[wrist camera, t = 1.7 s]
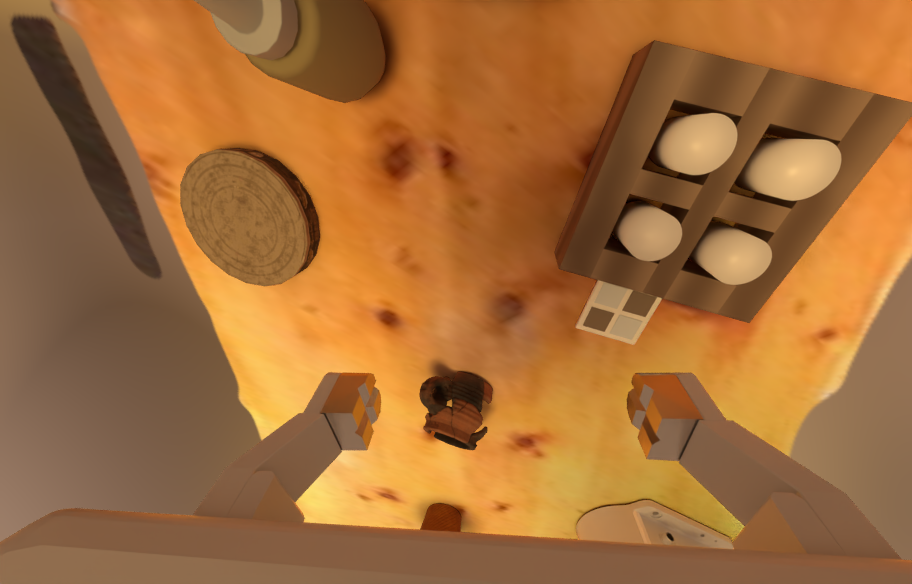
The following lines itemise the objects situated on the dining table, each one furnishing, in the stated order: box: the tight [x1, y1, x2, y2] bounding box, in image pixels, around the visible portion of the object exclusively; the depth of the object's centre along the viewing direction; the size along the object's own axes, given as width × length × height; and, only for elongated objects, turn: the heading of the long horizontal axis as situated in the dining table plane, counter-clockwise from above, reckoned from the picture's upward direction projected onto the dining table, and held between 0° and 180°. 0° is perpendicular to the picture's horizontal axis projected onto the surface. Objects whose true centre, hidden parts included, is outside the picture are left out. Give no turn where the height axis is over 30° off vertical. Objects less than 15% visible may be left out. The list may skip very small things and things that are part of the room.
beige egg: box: [649, 113, 737, 175], centre depth 25 cm, size 4×4×5 cm
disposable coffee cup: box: [420, 504, 461, 532], centre depth 55 cm, size 10×10×12 cm
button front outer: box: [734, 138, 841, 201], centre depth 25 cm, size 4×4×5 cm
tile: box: [575, 280, 662, 345], centre depth 37 cm, size 7×7×1 cm
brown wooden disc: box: [181, 148, 320, 286], centre depth 39 cm, size 16×16×3 cm
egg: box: [613, 201, 682, 261], centre depth 29 cm, size 4×4×5 cm
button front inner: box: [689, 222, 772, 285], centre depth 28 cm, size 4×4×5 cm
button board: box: [555, 40, 912, 323], centre depth 29 cm, size 18×18×5 cm
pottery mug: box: [420, 372, 492, 450], centre depth 45 cm, size 12×10×8 cm
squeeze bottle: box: [194, 0, 386, 103], centre depth 23 cm, size 8×8×18 cm
